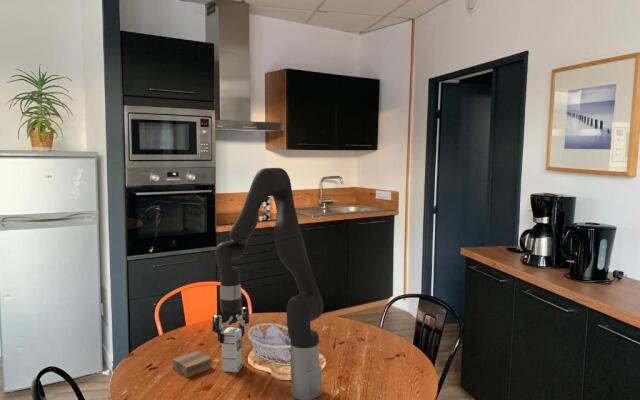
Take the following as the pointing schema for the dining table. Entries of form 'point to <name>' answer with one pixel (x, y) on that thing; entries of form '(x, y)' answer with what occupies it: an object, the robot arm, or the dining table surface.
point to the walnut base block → (192, 363)
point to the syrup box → (232, 350)
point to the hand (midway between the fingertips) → (231, 339)
